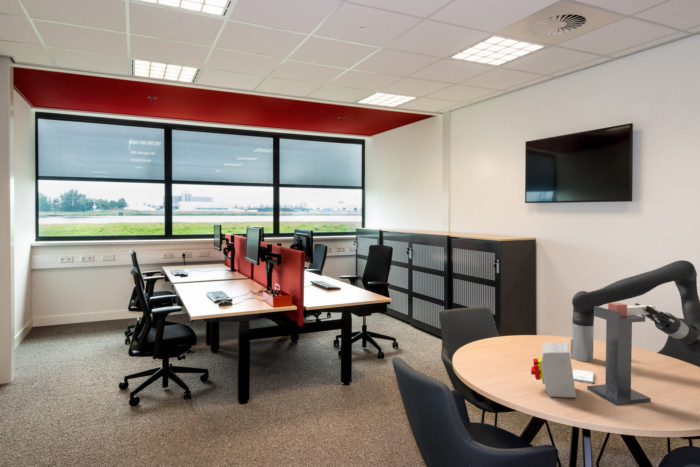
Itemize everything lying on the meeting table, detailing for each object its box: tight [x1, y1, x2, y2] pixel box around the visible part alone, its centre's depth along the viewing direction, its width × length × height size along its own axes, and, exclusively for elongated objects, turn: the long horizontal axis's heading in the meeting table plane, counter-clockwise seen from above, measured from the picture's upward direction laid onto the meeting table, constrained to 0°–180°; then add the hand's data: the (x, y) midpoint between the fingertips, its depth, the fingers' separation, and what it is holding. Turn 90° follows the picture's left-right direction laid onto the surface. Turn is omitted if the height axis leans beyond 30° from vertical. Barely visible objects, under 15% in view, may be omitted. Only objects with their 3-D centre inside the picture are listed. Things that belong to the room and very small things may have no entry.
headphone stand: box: [586, 306, 652, 406], centre depth 169 cm, size 15×15×34 cm
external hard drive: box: [572, 368, 595, 385], centre depth 189 cm, size 2×8×12 cm
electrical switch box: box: [530, 341, 577, 398], centre depth 175 cm, size 15×15×20 cm
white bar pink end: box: [607, 302, 656, 316], centre depth 169 cm, size 18×4×4 cm, turn 101°
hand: (640, 306), depth 170 cm, fingers open, 4 cm apart
